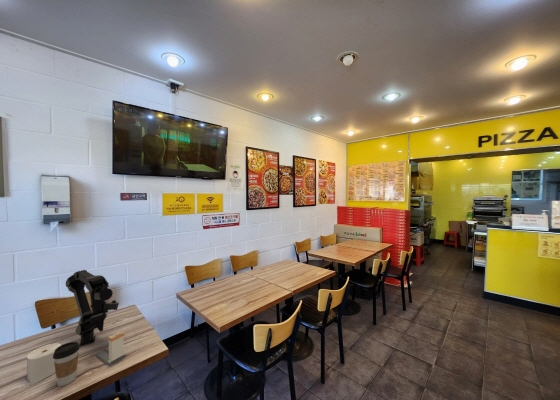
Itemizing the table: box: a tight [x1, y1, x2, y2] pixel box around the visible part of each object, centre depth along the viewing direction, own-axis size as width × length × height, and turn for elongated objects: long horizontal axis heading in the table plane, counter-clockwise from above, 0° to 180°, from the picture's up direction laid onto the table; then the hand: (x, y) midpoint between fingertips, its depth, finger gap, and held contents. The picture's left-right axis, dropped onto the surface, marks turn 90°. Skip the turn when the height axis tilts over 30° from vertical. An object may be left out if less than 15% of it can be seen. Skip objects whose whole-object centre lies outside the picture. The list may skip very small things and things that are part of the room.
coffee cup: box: [53, 341, 81, 387], centre depth 95 cm, size 8×8×15 cm
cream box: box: [108, 330, 125, 361], centre depth 107 cm, size 3×5×11 cm, turn 151°
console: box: [95, 346, 127, 367], centre depth 109 cm, size 14×7×2 cm, turn 61°
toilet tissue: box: [26, 342, 62, 386], centre depth 100 cm, size 11×12×10 cm
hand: (101, 331), depth 114 cm, fingers closed
